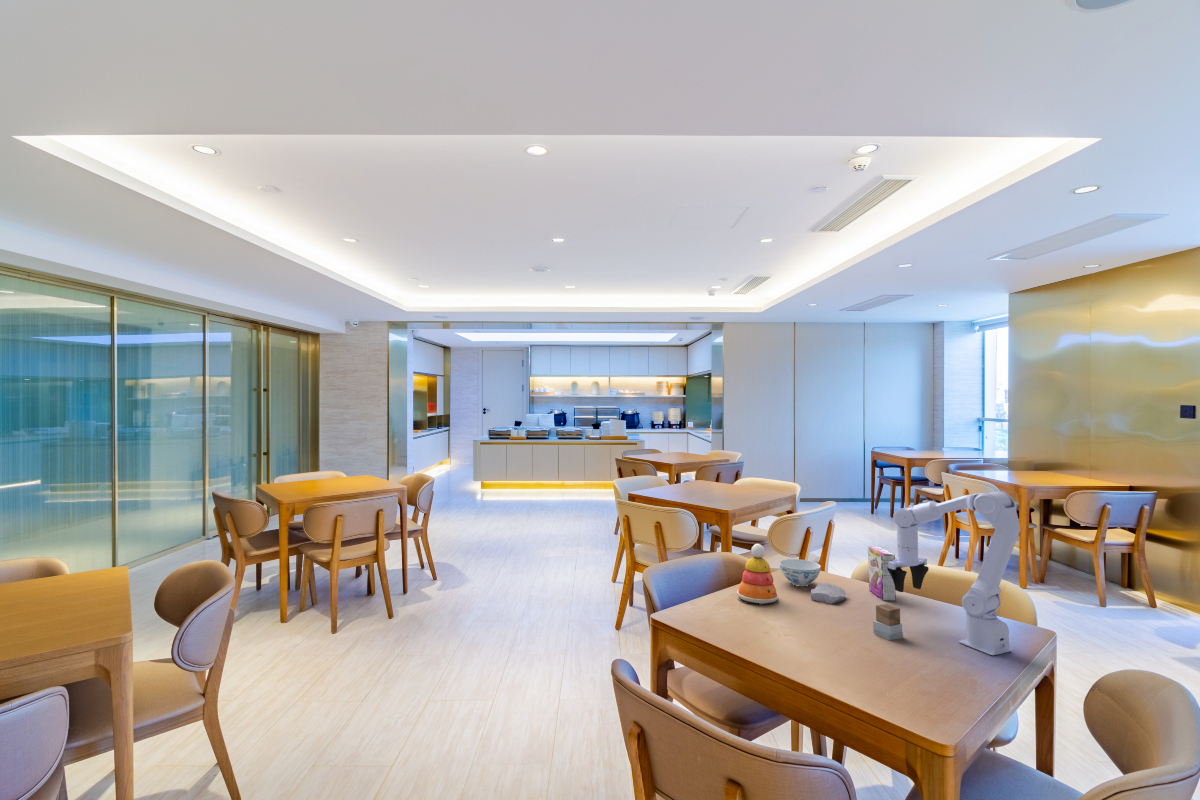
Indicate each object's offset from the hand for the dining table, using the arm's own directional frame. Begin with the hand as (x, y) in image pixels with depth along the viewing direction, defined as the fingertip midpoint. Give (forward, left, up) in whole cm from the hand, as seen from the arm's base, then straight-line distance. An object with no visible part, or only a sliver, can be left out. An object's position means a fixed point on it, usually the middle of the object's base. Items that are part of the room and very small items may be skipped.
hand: (908, 589), depth 172 cm
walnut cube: (-5, +14, -7) cm, 16 cm away
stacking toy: (+36, +30, -11) cm, 48 cm away
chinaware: (+44, +4, -11) cm, 45 cm away
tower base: (-5, +14, -11) cm, 18 cm away
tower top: (-5, +14, -9) cm, 17 cm away
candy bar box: (+22, -14, -11) cm, 29 cm away
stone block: (+27, +6, -11) cm, 30 cm away
